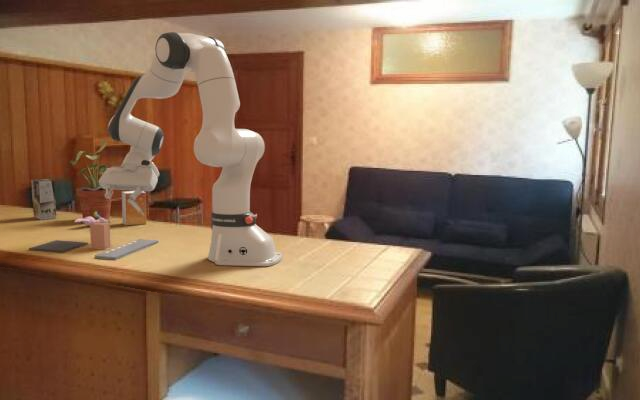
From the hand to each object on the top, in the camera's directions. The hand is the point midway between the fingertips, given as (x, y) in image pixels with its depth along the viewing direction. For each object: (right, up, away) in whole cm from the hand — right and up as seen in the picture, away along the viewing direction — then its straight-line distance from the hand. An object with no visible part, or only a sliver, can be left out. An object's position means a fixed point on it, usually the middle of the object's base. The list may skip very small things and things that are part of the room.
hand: (119, 198), depth 174 cm
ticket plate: (+7, -17, -11) cm, 21 cm away
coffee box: (-48, -8, +42) cm, 64 cm away
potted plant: (-26, -9, +39) cm, 48 cm away
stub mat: (-16, -16, -9) cm, 24 cm away
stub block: (-3, -16, -9) cm, 18 cm away
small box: (-7, -10, +33) cm, 35 cm away
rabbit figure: (-21, -11, +27) cm, 36 cm away
